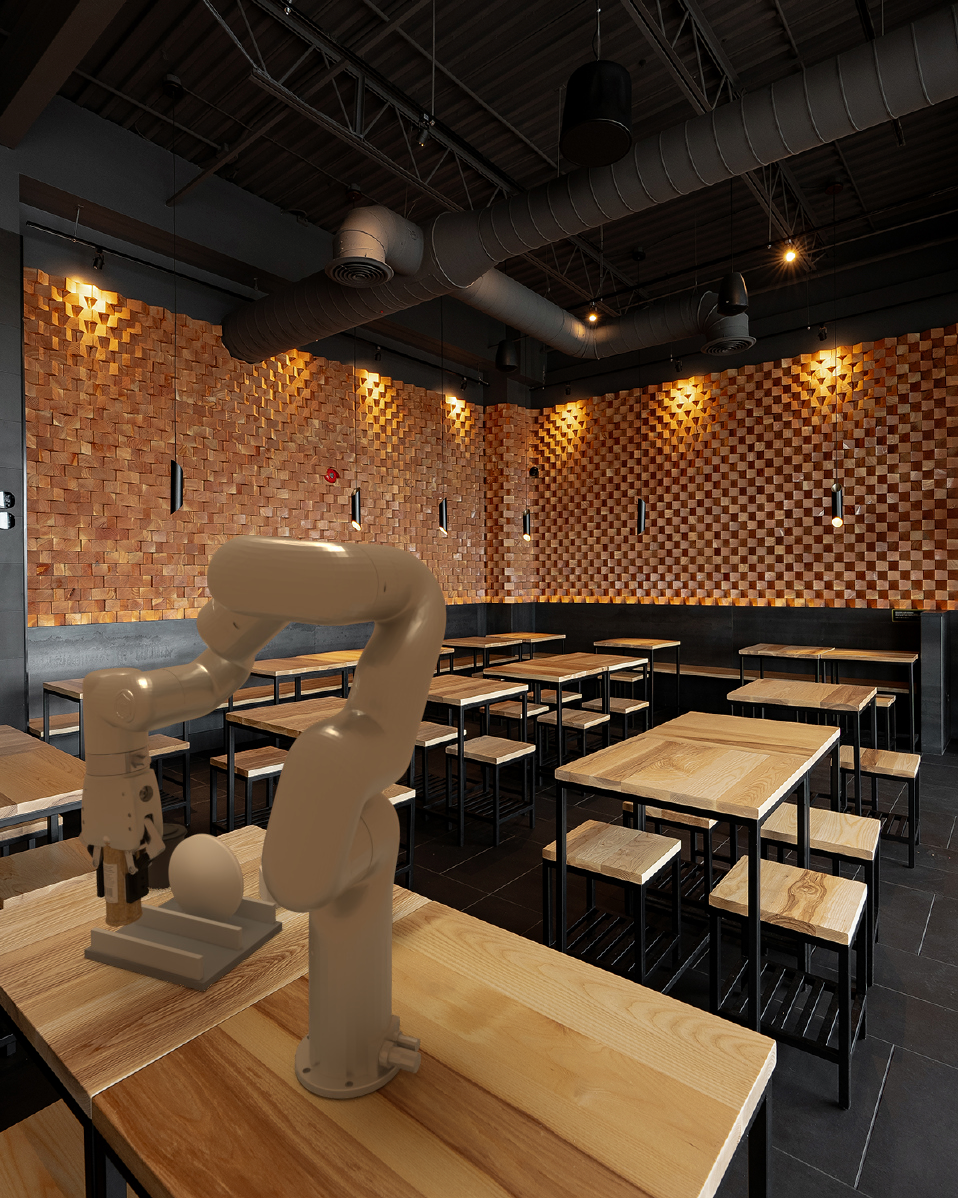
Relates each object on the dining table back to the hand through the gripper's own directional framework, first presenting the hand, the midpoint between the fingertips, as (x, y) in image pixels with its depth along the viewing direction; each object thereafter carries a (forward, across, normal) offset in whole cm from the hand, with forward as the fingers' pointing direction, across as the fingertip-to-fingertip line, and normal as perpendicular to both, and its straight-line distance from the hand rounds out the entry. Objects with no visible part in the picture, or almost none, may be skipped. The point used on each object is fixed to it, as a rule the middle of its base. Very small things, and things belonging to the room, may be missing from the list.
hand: (123, 894), depth 91 cm
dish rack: (+13, +1, -12) cm, 18 cm away
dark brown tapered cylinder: (+13, +20, -26) cm, 35 cm away
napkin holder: (+14, 0, -30) cm, 33 cm away
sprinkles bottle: (+4, 0, 0) cm, 4 cm away
